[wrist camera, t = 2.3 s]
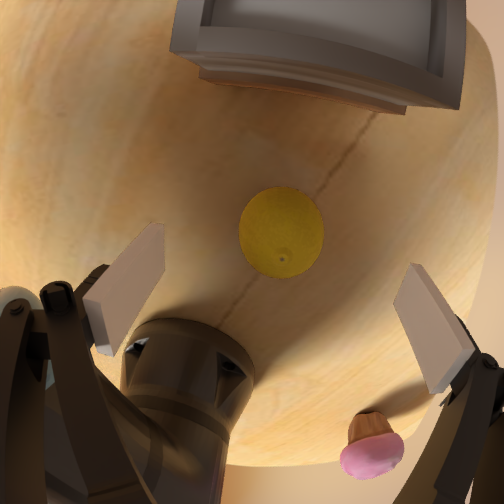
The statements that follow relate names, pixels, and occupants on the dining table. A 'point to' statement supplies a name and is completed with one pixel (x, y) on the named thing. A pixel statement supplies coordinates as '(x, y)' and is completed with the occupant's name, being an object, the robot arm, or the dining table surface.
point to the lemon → (281, 232)
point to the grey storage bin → (330, 48)
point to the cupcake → (371, 447)
